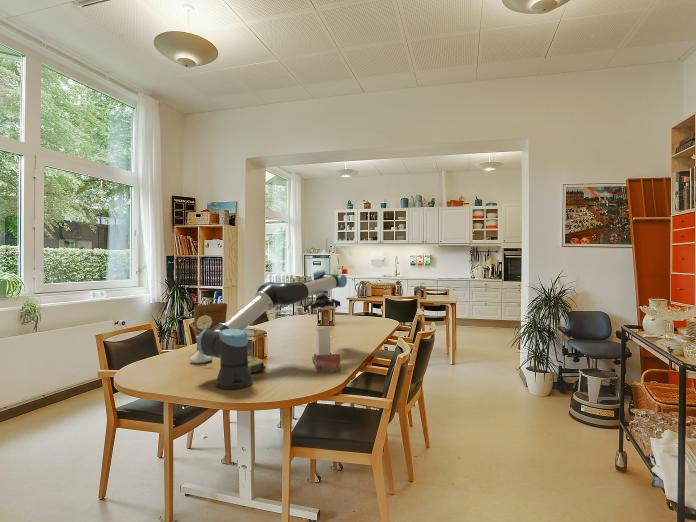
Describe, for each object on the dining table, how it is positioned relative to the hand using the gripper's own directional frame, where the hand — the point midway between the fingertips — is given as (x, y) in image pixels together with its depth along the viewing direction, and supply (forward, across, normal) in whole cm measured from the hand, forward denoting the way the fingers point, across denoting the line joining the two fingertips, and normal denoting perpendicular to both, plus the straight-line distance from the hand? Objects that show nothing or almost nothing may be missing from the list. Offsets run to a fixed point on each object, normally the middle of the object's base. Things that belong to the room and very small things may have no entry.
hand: (322, 309), depth 219 cm
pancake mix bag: (-26, +70, -23) cm, 78 cm away
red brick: (+16, +2, -25) cm, 30 cm away
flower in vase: (+2, +67, -19) cm, 69 cm away
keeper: (+10, +2, -23) cm, 25 cm away
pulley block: (+16, +40, -21) cm, 48 cm away
